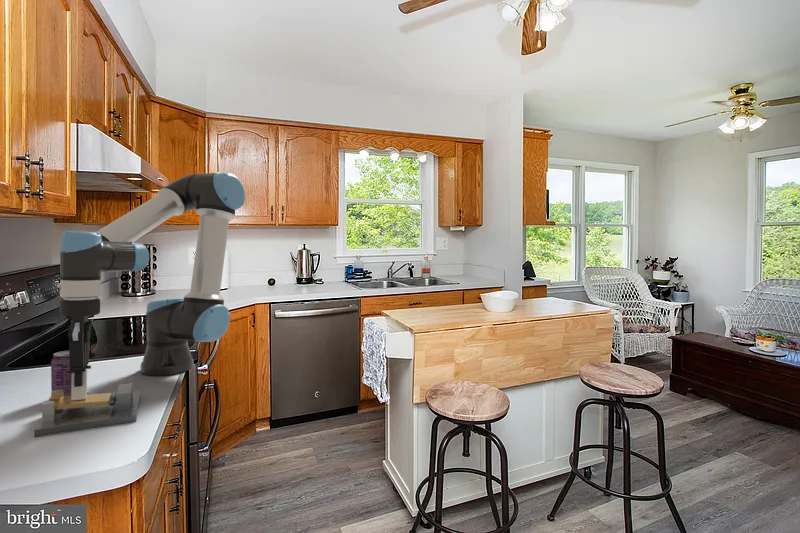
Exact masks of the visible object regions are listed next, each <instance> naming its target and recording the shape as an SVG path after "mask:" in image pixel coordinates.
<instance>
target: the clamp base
mask: <svg viewBox="0 0 800 533" xmlns="http://www.w3.org/2000/svg"><path fill="white" fill-rule="evenodd" d="M133 386H134V384H133V382H129V383H122V384H119V385H118V386H117V391H116V392H117V393H116V403H115V405H113V406H110V405H103V406H92V407H80V408H69V409H58V410H55V401H50V402H49V401H43V402H42V404H41V410H42V411H41V417H42V418H41V420H40V421H39V423H38V424H37V425H36V426H35V428H34V430H33V437H34V438H39V437H46V436H53V435H58V434H64V433H70V432H77V431H84V430H89V429H95V428H103V427H108V426H109V427H110V426H115V425H121V424H123V425H124V424H128V423H134V422H137V420H138V419H137V418H138V414H139V413H138V412H139V405H140V400H141V390H137V391H133V389H134V388H133ZM54 393H63V389H62V390H54V391H52V392H51V391H50V396H51V395H52V394H54ZM111 397H112V394H111ZM110 400H111V399H110ZM109 403H110V402H109Z"/></svg>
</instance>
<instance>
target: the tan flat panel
mask: <svg viewBox="0 0 800 533" xmlns="http://www.w3.org/2000/svg"><path fill="white" fill-rule="evenodd" d="M116 393H117V391H113V392H107V393H90V394H87V398H86V399H81V400H72V401H71V396H64V393H54V394H52V395H51V394H50V397H49V398H48V402H50V401H55V410H58V409H69V408H80V407H92V406H103V405H110V406H113V405H115V403H116ZM111 395H112V397H111ZM110 399H111V400H110ZM109 402H110V403H109Z"/></svg>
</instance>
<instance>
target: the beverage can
mask: <svg viewBox="0 0 800 533" xmlns="http://www.w3.org/2000/svg"><path fill="white" fill-rule="evenodd" d="M68 370H70V355H69V349H68V350H62V351H58V352H55V353H53V358H52V359H51V361H50V371H51V372H50V374H51V375H50V376H51V377H50V380H51V383H50V384H51V388H50V389H51V390H50V393H51V392H52V391H54V390H62V389H63V393H64V396H71V383H72V373H67V371H68Z"/></svg>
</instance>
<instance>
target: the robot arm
mask: <svg viewBox="0 0 800 533" xmlns="http://www.w3.org/2000/svg"><path fill="white" fill-rule="evenodd" d="M243 185H244V184H242V182H241V180H240V178H238V177H237V176H236V175H234V173H230V172H222V171H218V172H211V173H210V172H207V173H192V174H191V173H190V174H187V175H185V176H182V177H180V178H178V179H176V180H174V181H173V182H171V183H169V184H168V185H167V184H166V186H163V187H161V188H160V189H158V190H157V192H156V195H155V196H154V197H152V198H150V199H148V200H146V201H145V202H144V203H142V204H140V205H138V206H137V207H135V208H134V209H132V210H130V211H128V212H127V213H125V214H123V215H122V216H120V217H118V218H117V219H115V220H113V221H112V222H110V223H108V224H107V225H105V226H104V227H102V228H100V229H98V230H97V231H78V230H77V231H74V230H67V231H64V232H63V233H62V234H61V237H60V242H59V245H60V246H59V276H60V277H59V279H60V280H59V281H60V283H57V285H56V288H58V289H60V290H59V296H60V297H61V298H63V299H60V300H59V315H60V316H61V317H66V318H67V317H71V322H70V323H68V325H67V332H68V333H67V337H68V350H69V355H70V370H68V371H67V373H72V383H71V401H72V400H81V399H86V398H87V395H88V370H89V369H91V368H92V365H89V363H90V360H89V355H90V354H89V353H90V339H91V330H92V328H93V325H92V322H93V321H89V317H90V316H96V315H99V314H100V313H101V299H100V298H99V297H100V296H102V294H101V292H102V289H101V288H102V277H101V276H102V273H106V272H131V273H133V272H138V271H143V270H145V268H147V266H148V264H149V261H150V252H149V249H148V248H147V246H146V245H145V244H143V243H141V242H136V241H137V240H139V239H140V238H142V237H143V236H145V235H146V234H147V233H149V232H151V231H152V230H154V229H155V228H157V227H158V226H160V225H162V224H163V223H164V222H166V221H167V220H169V219H170V218H171V217H174V216H176V217H179V216H181V215H182V214H185V213H186V212H189V211H194V210H195V212H196V214H198V216H199V226H198V231H197V240H196V247H195V253H194V254H195V255H194V262H193V269H192V277H191V285H190V289H189V290H190V291H189V292H188V293H187V294H185V295H184V296H183V297H173V298H172V297H171V298H165V299H164V298H163V299H157V300H151V301H148V303H147V305H146V312H145V319H146V320H145V322H146V325H145V326H146V348H145V351H144V355H143V360H142V361H141V363H140V369H139V370H140V373H141V374H142V375H146V376H153V377H155V376H157V377H159V376H169V375H170V376H171V375H175V374H176V375H178V374H181V373H185V372H187V371H190V370H192V369H193V368H194V362H195V361H194V358H193V356H192V355H191V350H190V347H189V343H188V342H189V341H193V342H194V341H196V342H199V343H205V342H207V343H211V342H215V341H218V340H219V339H220V338H221V337H223V336H224V335H225V334H226V332H227V330H228V328H229V326H230V322H231V313H230V311H229V308H228V307H227V306H225V298H224V297H223V295H221V289H222V288H221V286H222V279H223V272H224V263H225V256H226V248H227V242H228V241H227V240H228V233H229V225H230V221H231V220H234V218H236V210H239V209H241V208H242V206H243V205H244V204H245V201H246V192H245V188H244V186H243Z"/></svg>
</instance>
